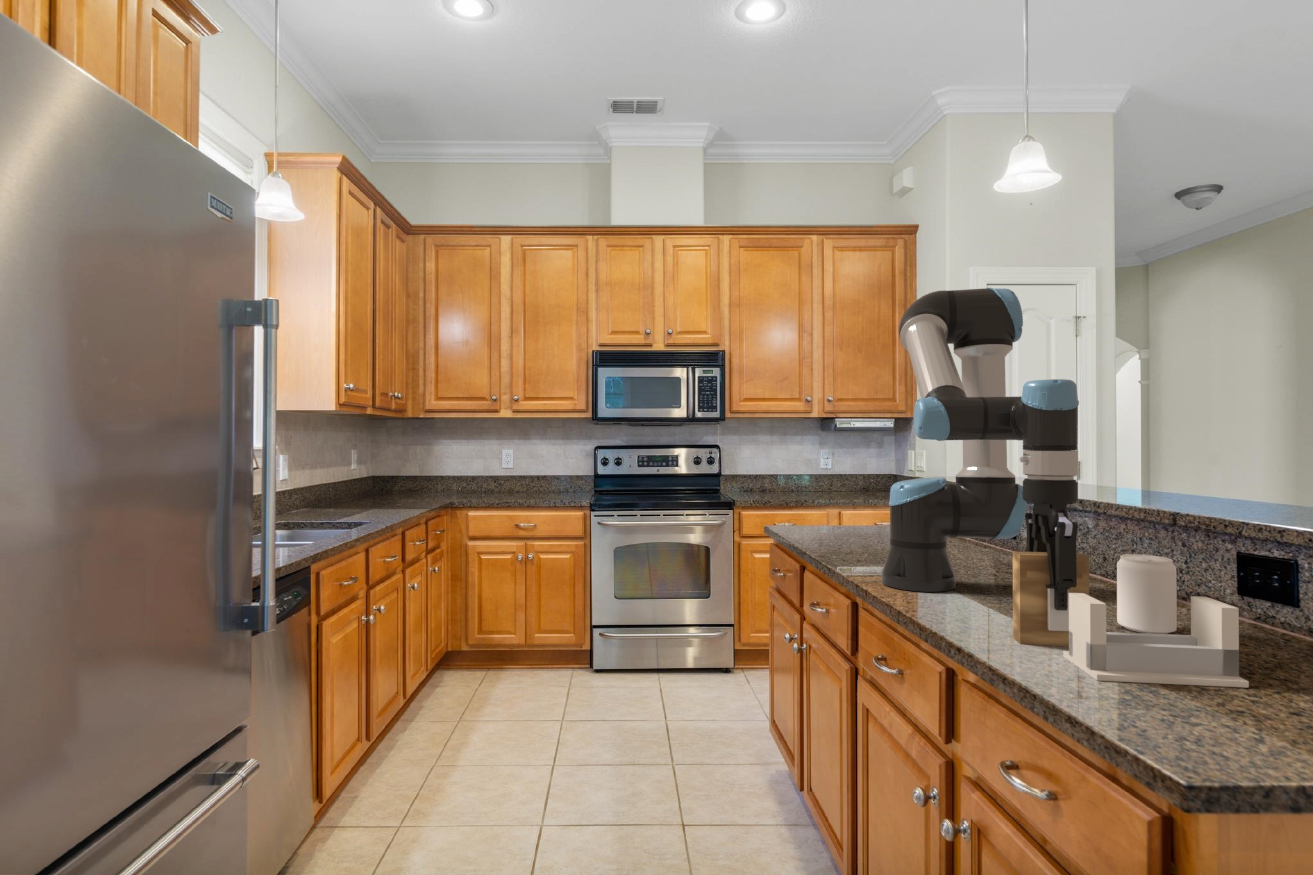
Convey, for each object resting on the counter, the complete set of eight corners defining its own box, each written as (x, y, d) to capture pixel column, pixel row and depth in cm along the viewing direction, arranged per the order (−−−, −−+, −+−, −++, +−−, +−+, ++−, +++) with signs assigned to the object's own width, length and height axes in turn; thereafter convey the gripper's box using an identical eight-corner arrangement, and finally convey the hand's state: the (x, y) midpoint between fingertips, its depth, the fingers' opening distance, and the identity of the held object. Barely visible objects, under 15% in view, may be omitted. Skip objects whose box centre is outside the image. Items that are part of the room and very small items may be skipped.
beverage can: (1187, 637, 108) (1187, 563, 108) (1131, 634, 110) (1130, 561, 110) (1160, 623, 116) (1160, 554, 116) (1108, 621, 118) (1108, 553, 118)
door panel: (1012, 637, 108) (1012, 551, 108) (1079, 640, 107) (1079, 552, 107) (1020, 644, 105) (1020, 554, 105) (1089, 646, 103) (1089, 556, 103)
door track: (1063, 656, 99) (1063, 589, 99) (1198, 661, 96) (1198, 593, 96) (1097, 680, 89) (1096, 606, 89) (1248, 687, 86) (1248, 611, 86)
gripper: (1003, 474, 115) (1004, 609, 115) (1048, 481, 98) (1048, 641, 98) (1050, 474, 114) (1051, 611, 114) (1104, 481, 96) (1105, 643, 96)
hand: (1050, 624), depth 106 cm, fingers open, 5 cm apart
